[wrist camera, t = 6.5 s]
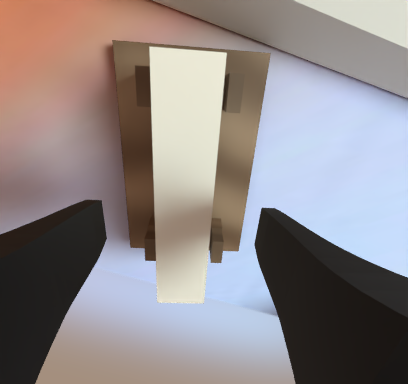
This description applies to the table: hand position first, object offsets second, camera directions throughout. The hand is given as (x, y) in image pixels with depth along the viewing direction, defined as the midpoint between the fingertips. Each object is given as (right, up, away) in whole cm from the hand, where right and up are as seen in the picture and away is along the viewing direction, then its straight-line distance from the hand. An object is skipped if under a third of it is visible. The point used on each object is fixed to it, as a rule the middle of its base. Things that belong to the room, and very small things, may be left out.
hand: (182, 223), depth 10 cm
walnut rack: (0, +4, +8) cm, 9 cm away
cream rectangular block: (0, +3, +6) cm, 6 cm away
